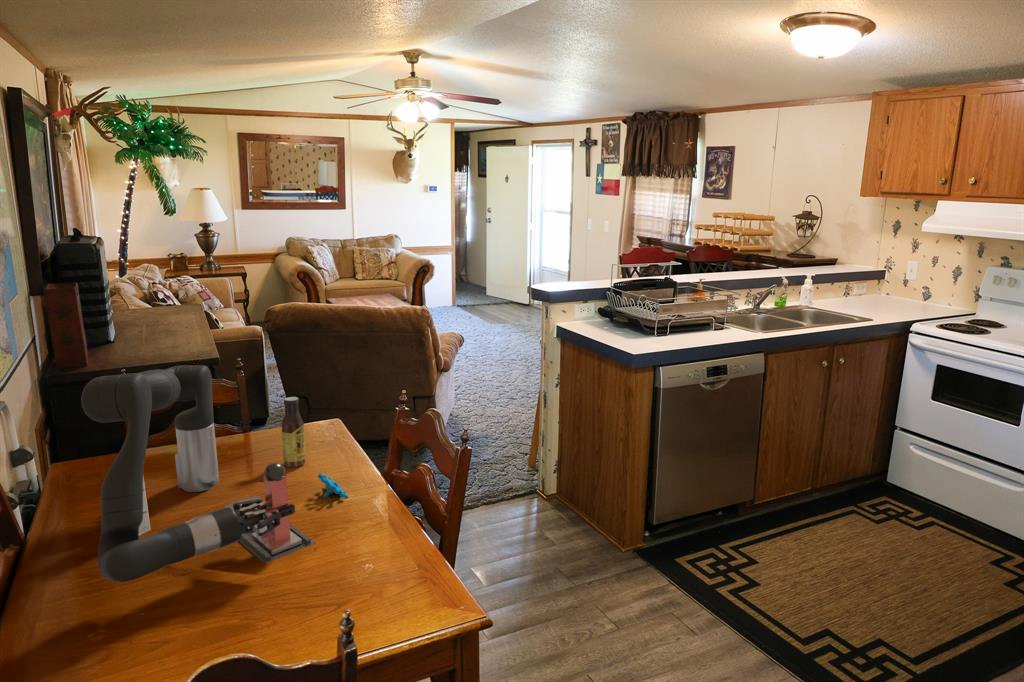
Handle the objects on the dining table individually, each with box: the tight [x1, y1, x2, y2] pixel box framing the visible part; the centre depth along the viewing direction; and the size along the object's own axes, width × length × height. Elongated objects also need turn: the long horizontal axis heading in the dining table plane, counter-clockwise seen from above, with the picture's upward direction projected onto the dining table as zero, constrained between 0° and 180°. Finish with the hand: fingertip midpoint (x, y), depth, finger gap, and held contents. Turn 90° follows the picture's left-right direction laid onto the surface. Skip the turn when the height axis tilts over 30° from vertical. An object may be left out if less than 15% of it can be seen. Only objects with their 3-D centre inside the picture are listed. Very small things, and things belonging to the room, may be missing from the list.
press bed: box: [224, 495, 317, 564], centre depth 156 cm, size 28×12×5 cm, turn 45°
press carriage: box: [251, 462, 302, 555], centre depth 149 cm, size 10×7×19 cm
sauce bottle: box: [281, 396, 306, 468], centre depth 193 cm, size 7×6×20 cm
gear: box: [317, 472, 349, 499], centre depth 174 cm, size 11×6×10 cm
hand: (289, 504), depth 150 cm, fingers closed on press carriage, 3 cm apart
